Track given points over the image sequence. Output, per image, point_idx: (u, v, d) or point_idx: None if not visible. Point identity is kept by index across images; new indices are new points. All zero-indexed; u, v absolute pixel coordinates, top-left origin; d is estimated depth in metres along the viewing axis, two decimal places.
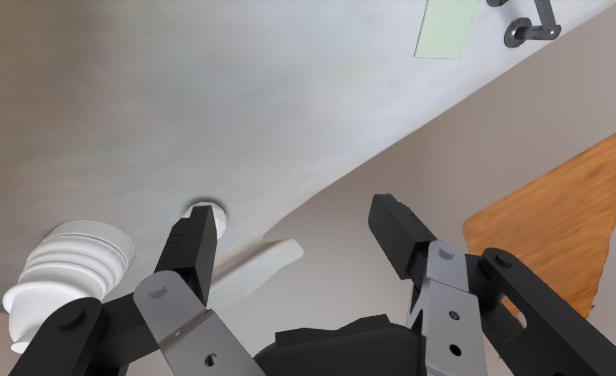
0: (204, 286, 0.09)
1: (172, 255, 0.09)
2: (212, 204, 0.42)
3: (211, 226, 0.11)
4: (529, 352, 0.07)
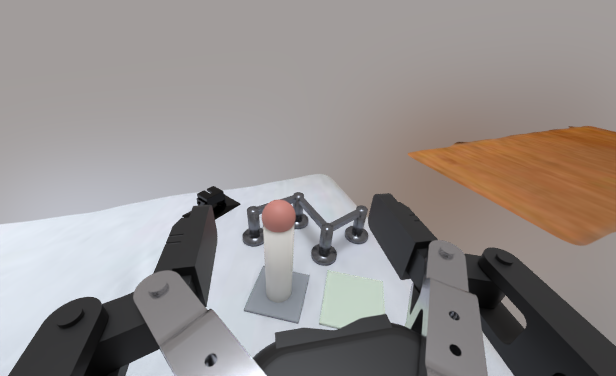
0: (204, 286, 0.09)
1: (172, 255, 0.09)
2: None
3: (211, 226, 0.11)
4: (529, 352, 0.07)
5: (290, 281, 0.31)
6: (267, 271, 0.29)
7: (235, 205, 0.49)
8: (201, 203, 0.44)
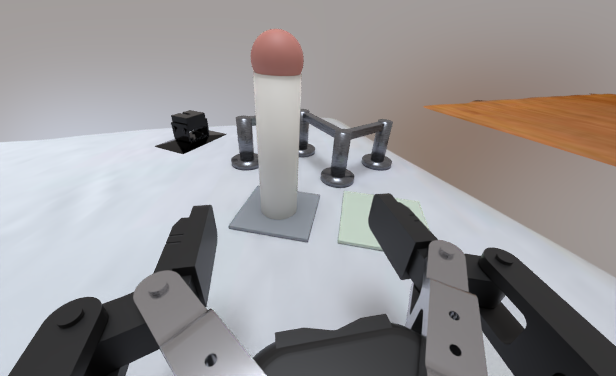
0: (204, 286, 0.09)
1: (172, 255, 0.09)
2: None
3: (211, 226, 0.11)
4: (529, 352, 0.07)
5: (295, 186, 0.21)
6: (261, 164, 0.20)
7: (220, 135, 0.40)
8: (178, 127, 0.35)
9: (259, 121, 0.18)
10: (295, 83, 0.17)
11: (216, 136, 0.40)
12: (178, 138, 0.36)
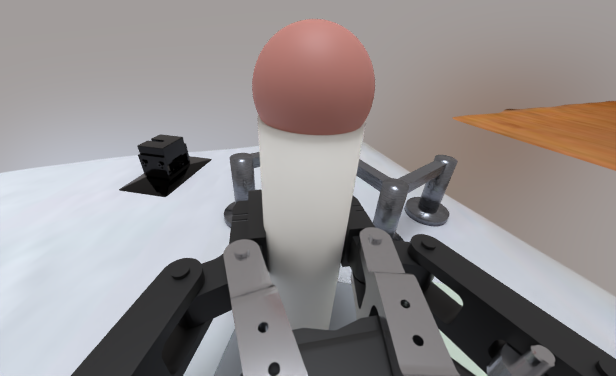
0: None
1: (240, 230, 0.10)
2: None
3: None
4: (470, 327, 0.08)
5: (331, 306, 0.12)
6: (273, 282, 0.10)
7: (203, 162, 0.32)
8: (150, 160, 0.26)
9: (270, 217, 0.08)
10: (355, 146, 0.07)
11: (199, 164, 0.31)
12: (151, 174, 0.27)
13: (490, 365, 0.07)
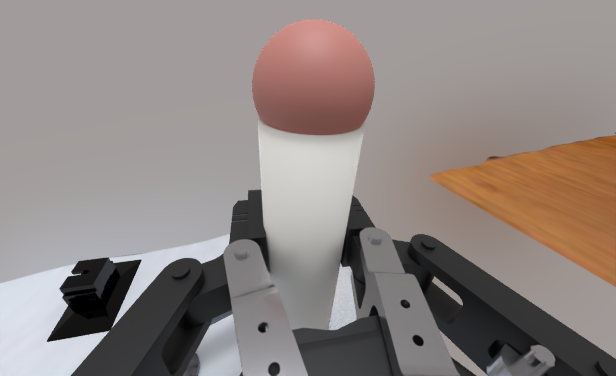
0: None
1: (240, 230, 0.10)
2: None
3: None
4: (469, 327, 0.08)
5: (331, 306, 0.12)
6: (272, 282, 0.10)
7: (133, 267, 0.31)
8: (80, 297, 0.25)
9: (270, 217, 0.08)
10: (355, 146, 0.07)
11: (131, 272, 0.30)
12: (81, 309, 0.26)
13: (490, 365, 0.07)
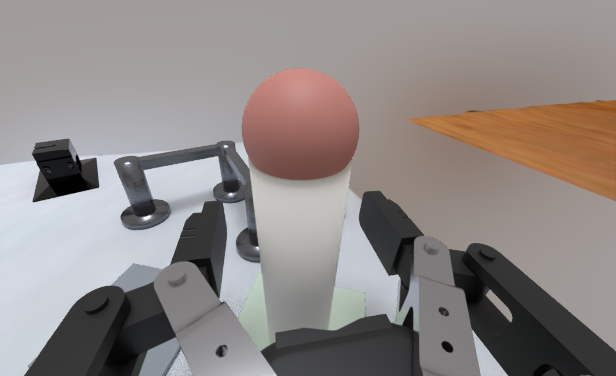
0: (217, 278, 0.09)
1: (187, 248, 0.09)
2: None
3: (222, 221, 0.11)
4: (516, 345, 0.07)
5: (328, 322, 0.12)
6: (270, 303, 0.11)
7: (91, 161, 0.33)
8: (56, 164, 0.26)
9: (264, 247, 0.09)
10: (342, 185, 0.07)
11: (91, 163, 0.32)
12: (57, 180, 0.27)
13: None
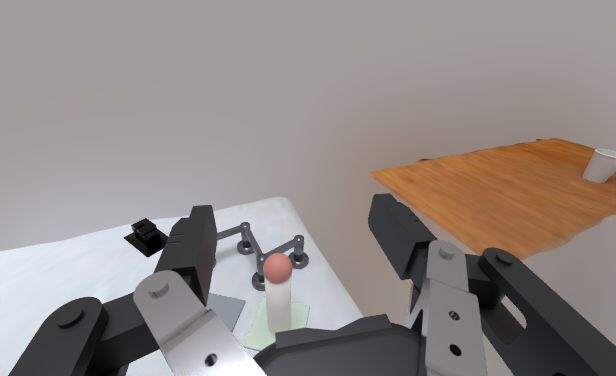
0: (204, 286, 0.09)
1: (172, 255, 0.09)
2: None
3: (211, 226, 0.11)
4: (529, 352, 0.07)
5: (289, 318, 0.35)
6: (268, 311, 0.33)
7: None
8: (150, 234, 0.48)
9: (267, 295, 0.31)
10: (287, 282, 0.30)
11: None
12: (150, 242, 0.49)
13: None
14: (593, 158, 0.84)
